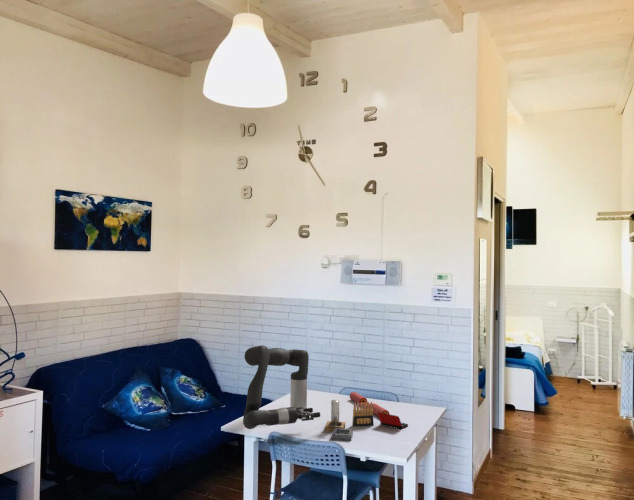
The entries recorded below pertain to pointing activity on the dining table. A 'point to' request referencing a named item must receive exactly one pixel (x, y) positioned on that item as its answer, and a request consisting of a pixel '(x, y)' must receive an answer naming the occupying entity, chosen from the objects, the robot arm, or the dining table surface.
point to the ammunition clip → (363, 415)
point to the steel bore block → (342, 434)
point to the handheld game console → (391, 420)
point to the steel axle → (334, 412)
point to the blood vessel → (359, 398)
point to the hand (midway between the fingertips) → (316, 412)
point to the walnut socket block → (330, 428)
